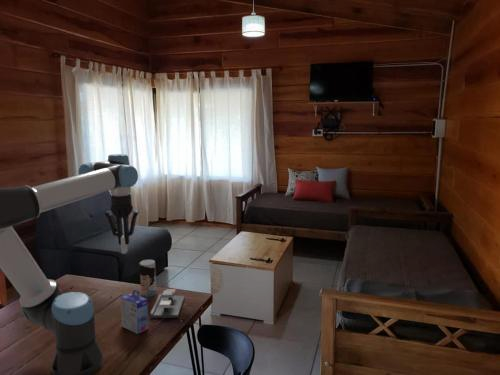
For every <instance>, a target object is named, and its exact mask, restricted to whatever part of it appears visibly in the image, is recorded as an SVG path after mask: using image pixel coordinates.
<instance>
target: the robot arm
mask: <svg viewBox="0 0 500 375" xmlns="http://www.w3.org/2000/svg"><path fill="white" fill-rule="evenodd" d="M138 180H139V173H138V170H137V168H136V167H134V166H133V165H130V160H129V156H128V155H127V154H125V153H114V154H109V155H108V157H107V160H105V161H96V162H94V161H93V162H88V163H82V164H81V165H80V166H79V168H78V174H76V175H73V176H69V177H66V178H62V179H58V180H54V181H50V182H45V183H42V184H37V185H34V186H30V185H27V184H24V185H20V186H15V187H0V270H1V271H2V273H3V274H4V275H5V276H6V278H7V279H8V281H9V282H10V284H11V285H12V286H13V287H14V289H15V290H16V292H17V293H18V294H19V295H20V297H19V299H18V300H19V301H18V302H19V305H20V307H21V312H22V315H23V316H24V318H25V319H26V320H27V321H28V322H30V323H31V324H34V325H37V326H39V327H41V328H43V329H45V330H46V331H49V332H51V333H53V335H54V340H55V341H54V342H55V343H54V344H55V352H54V355H53V356H54V357H53V359H52V362H51V363H52V364H51V374H52V375H94V374H96V373H97V372H98V371H99V370H100V369H101V368H102V367H103V364H104V355H103V351H102V349H101V347H100V345H99V344H98V341H97V338H96V324H95V307H94V302H93V300H92V297H91V296H90V295H88V294H86V293H84V292H80V291H77V292H75V291H70V292H63V291H62V290H61V288H60V286H59V285H58V283H57V282H56V281H55V280H54V279H49V278H47V277H46V275H45V273H44V272H43V270H42V269H41V268H40V266H39V265H38V263H37V261H36V260H35V259H34V257H33V255H32V254H31V252H30V251H29V250H28V248H27V246H26V245H25V244H24V242H23V241H22V239H21V238H20V236H19V234H18V233H17V232H16V230H15V229H14V227H13V226H16V225H20V224H22V223H26V222H28V221H32V220H34V219H37V218H39V217H40V215H41V213H43V212H44V213H45V212H47V211H50V210H53V209H56V208H59V207H62V206H65V205H68V204H73V203H75V202H77V201H81V200H84V199H87V198H89V197H93V196H96V195H98V194H103V193H105V192H108V191H109V192H110V194H111V196H110V205H111V207H110V209H109V210H107V211H106V212H104V216H105V217H106V218H107V219H108V223H109V226H110V229H111V232H112V235H113V236H114V237H115V236H116V237H117V239H118V241H117V242H118V245H120V249H121V254H126V253H128V245H129V244H130V236H132V235H133V234H134V233H135V226H136V224H137V223H136V222H137V217H138V215H139V214H140V211H139V210H135V209H134V207H133V205H132V203H133V202H132V194H131V191H132V189H131V188H132V187H134V186H135V185H136V184H137V182H138ZM130 214H131V215H132V216H131V221H130V225H129V218H130V217H129V216H130ZM114 216H115V218H116V219H114ZM115 221H116V222H115Z"/></svg>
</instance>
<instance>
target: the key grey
mask: <svg viewBox="0 0 500 375" xmlns="http://www.w3.org/2000/svg"><path fill="white" fill-rule="evenodd" d="M161 294H162V298H172V296H173V290H163V291H162V293H161Z"/></svg>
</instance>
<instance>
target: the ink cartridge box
mask: <svg viewBox="0 0 500 375" xmlns="http://www.w3.org/2000/svg"><path fill="white" fill-rule="evenodd" d="M140 292H141V291H138V290H136V289H133V291H132V292H130V293H128V294H125V295H123V296H121V297H120V307H121V308H120V309H121V310H120V311H121V327H122V328H123V329H124V328H125V329H127V330H129V331H131V332H132V333H135V334H137V335H139V334H141V333H143V332H145V331H147V330H149V308H148V305H149V304H148V301H149V300H148V298H146V297H144V296H142V295H141V296H140ZM135 293H136V294H135Z"/></svg>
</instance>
